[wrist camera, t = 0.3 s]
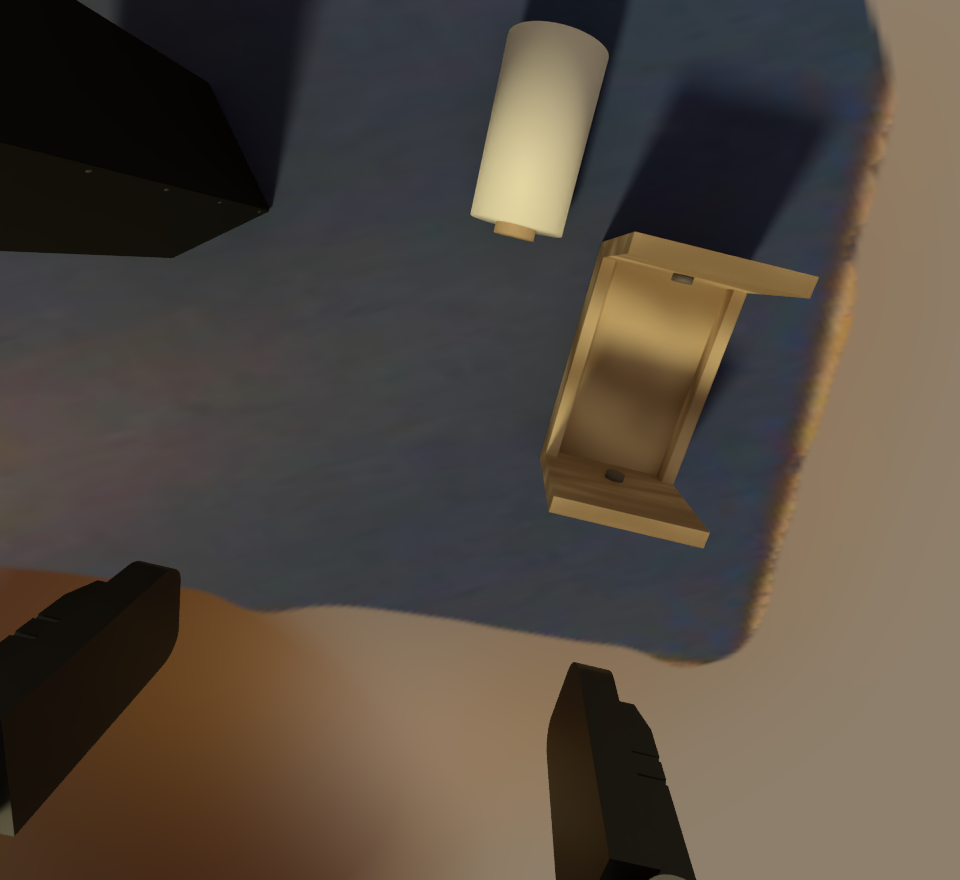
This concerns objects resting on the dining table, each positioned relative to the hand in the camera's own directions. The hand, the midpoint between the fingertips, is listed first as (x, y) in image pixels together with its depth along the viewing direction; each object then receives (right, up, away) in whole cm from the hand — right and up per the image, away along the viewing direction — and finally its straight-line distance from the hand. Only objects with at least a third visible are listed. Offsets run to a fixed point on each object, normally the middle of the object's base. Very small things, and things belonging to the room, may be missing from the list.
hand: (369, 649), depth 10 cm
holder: (+13, +9, +25) cm, 29 cm away
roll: (+6, +22, +21) cm, 31 cm away
